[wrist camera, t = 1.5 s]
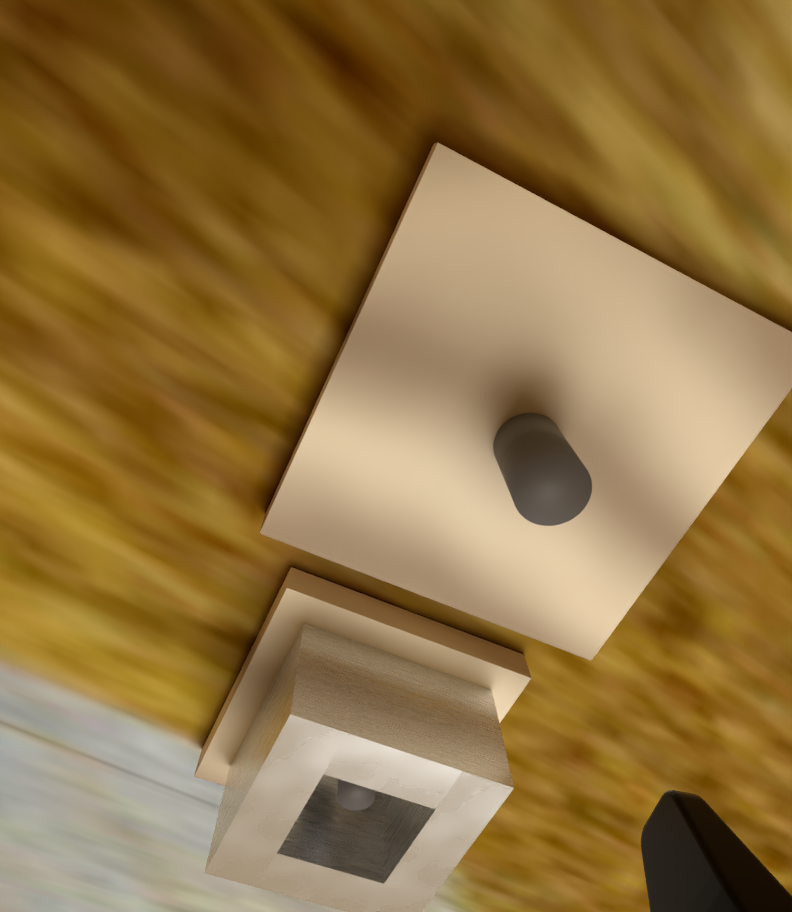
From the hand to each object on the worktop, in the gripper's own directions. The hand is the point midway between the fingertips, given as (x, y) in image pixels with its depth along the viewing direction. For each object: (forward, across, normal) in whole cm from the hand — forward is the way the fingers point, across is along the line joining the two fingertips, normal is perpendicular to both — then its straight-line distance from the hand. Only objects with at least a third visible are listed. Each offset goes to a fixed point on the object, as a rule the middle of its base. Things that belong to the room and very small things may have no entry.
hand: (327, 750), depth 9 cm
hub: (+13, -5, 0) cm, 14 cm away
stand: (+12, -2, +12) cm, 17 cm away
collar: (+11, -2, +12) cm, 16 cm away
